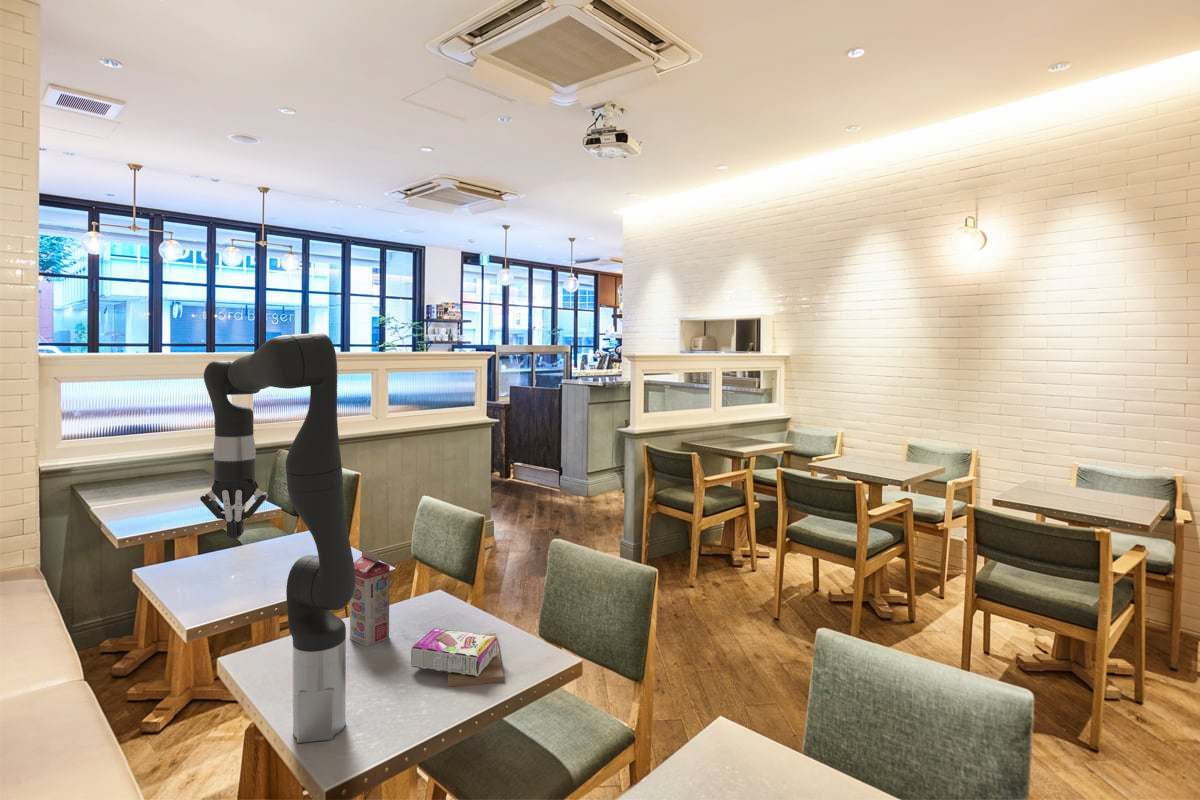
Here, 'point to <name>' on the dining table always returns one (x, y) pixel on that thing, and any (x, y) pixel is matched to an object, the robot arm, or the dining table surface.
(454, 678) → the walnut board
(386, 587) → the juice carton
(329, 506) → the robot arm
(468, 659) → the candy bar box
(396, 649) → the dining table surface
